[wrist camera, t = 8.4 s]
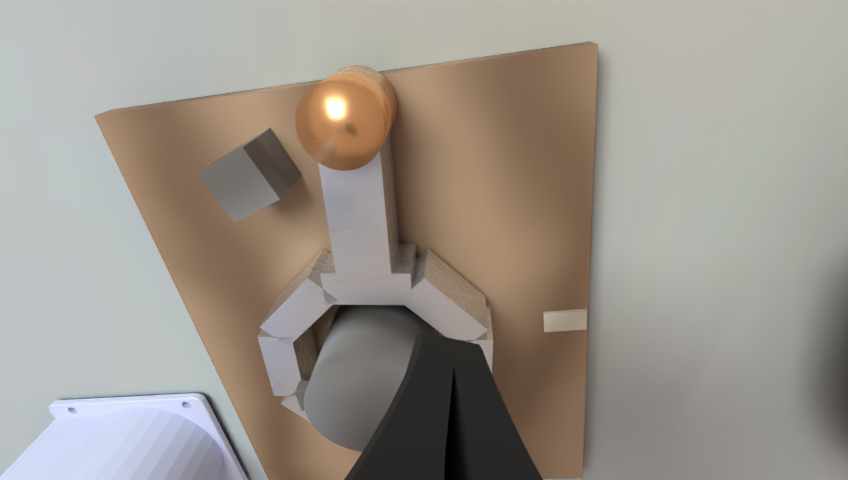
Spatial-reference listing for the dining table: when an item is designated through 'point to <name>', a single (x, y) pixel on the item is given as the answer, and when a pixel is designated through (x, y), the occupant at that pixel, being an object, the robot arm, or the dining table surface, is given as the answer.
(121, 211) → the dining table surface
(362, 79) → the collar
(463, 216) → the board
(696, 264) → the dining table surface
